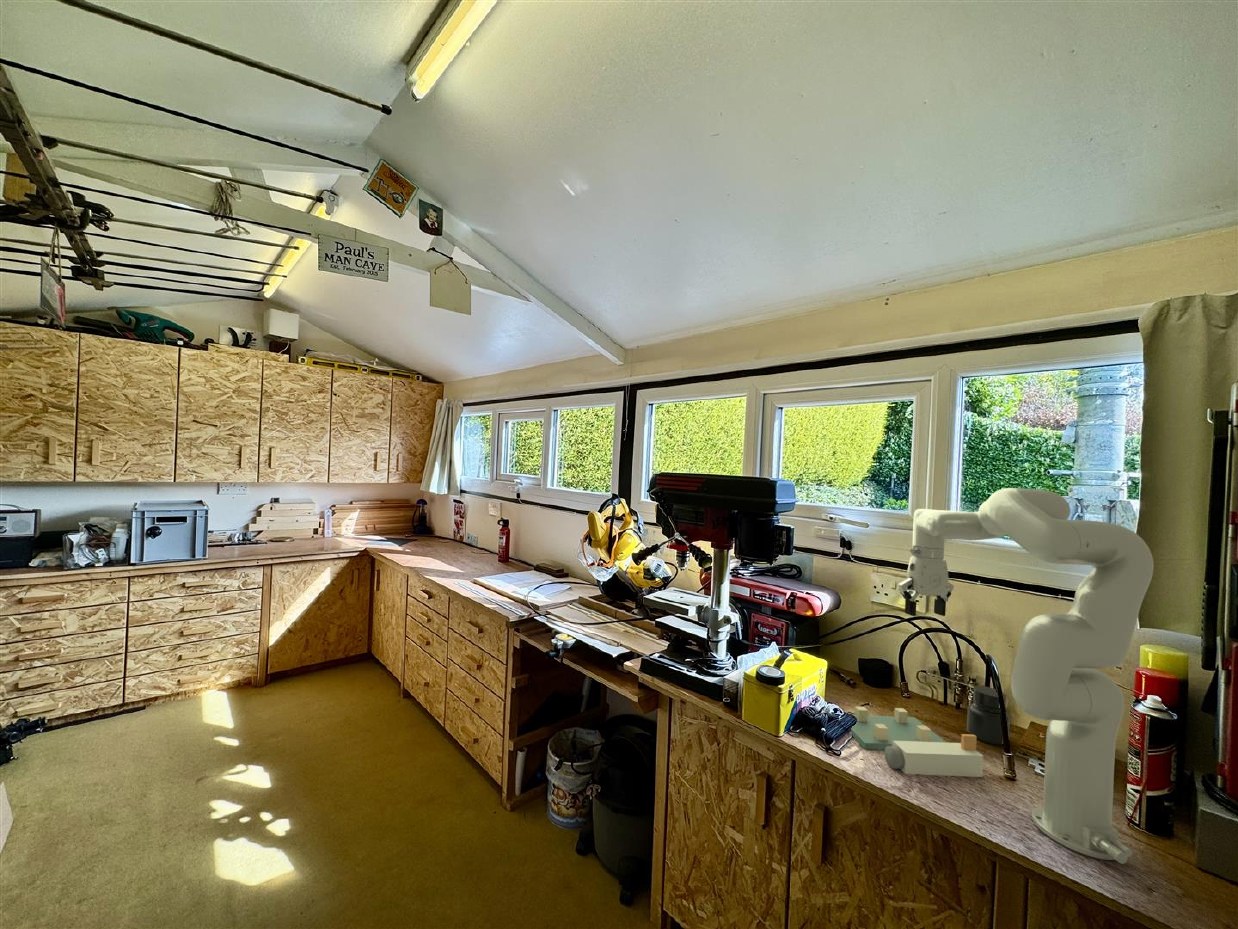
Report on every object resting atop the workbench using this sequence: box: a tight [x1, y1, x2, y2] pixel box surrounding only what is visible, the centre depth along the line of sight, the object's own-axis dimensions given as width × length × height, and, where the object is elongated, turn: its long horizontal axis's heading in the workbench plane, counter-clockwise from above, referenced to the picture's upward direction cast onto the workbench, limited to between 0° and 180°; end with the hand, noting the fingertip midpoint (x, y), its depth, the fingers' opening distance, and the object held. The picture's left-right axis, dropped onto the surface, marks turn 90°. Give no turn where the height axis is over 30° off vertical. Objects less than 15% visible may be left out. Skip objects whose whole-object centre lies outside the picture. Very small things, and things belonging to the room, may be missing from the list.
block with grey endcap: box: [884, 733, 984, 778], centre depth 111 cm, size 5×20×8 cm, turn 92°
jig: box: [851, 706, 948, 751], centre depth 125 cm, size 14×22×4 cm, turn 93°
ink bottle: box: [966, 685, 1011, 746], centre depth 128 cm, size 10×9×12 cm
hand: (924, 614), depth 135 cm, fingers open, 9 cm apart
